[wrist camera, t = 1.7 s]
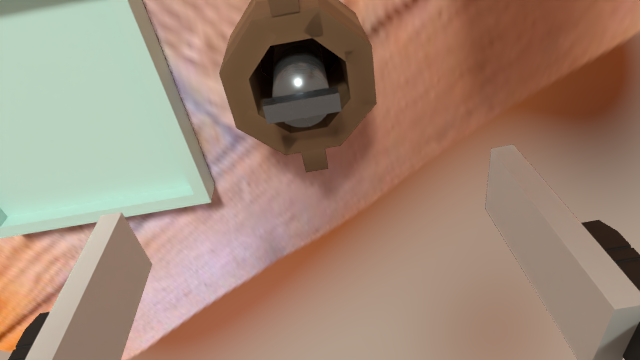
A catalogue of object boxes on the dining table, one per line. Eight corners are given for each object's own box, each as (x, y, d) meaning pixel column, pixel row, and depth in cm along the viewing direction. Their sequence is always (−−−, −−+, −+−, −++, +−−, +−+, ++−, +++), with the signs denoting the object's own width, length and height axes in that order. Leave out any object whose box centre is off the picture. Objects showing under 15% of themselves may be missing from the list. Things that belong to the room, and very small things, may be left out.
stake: (263, 32, 27) (257, 87, 20) (322, 21, 26) (336, 73, 20) (273, 76, 28) (271, 140, 22) (329, 66, 28) (344, 128, 22)
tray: (-170, 2, 24) (-206, 13, 22) (120, -54, 23) (107, -48, 21) (9, 219, 34) (-5, 239, 32) (214, 184, 33) (211, 202, 32)
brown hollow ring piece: (211, -31, 24) (194, -4, 19) (348, -56, 24) (364, -37, 19) (257, 132, 31) (253, 181, 26) (365, 113, 31) (381, 159, 26)
